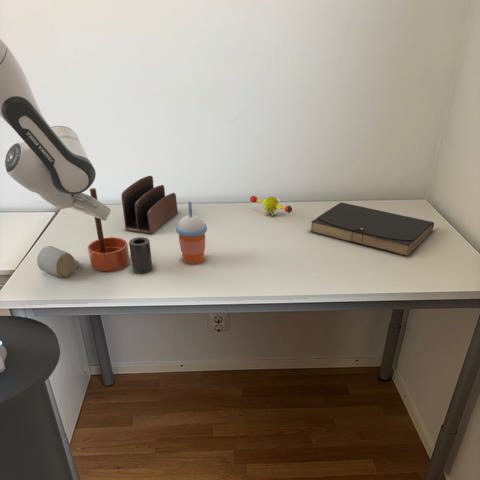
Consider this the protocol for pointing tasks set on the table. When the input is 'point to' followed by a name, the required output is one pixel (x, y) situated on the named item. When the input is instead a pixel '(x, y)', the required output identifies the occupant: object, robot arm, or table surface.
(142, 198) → the letter holder
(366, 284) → the table surface
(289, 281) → the table surface
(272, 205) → the toy figure
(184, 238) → the cup with straw
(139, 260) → the tube
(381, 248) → the black book
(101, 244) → the stick
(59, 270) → the ceramic mug
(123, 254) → the bowl
